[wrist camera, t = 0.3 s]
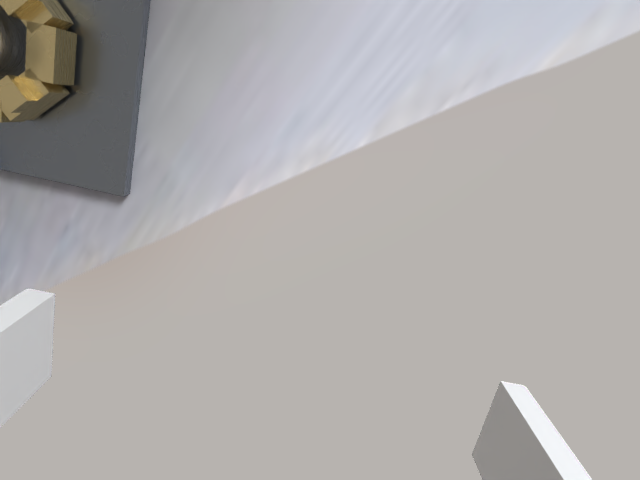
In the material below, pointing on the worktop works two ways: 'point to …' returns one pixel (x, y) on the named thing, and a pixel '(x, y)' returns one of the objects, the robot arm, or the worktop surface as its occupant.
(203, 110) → the worktop surface
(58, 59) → the grey lever
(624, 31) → the worktop surface
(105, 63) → the base plate
